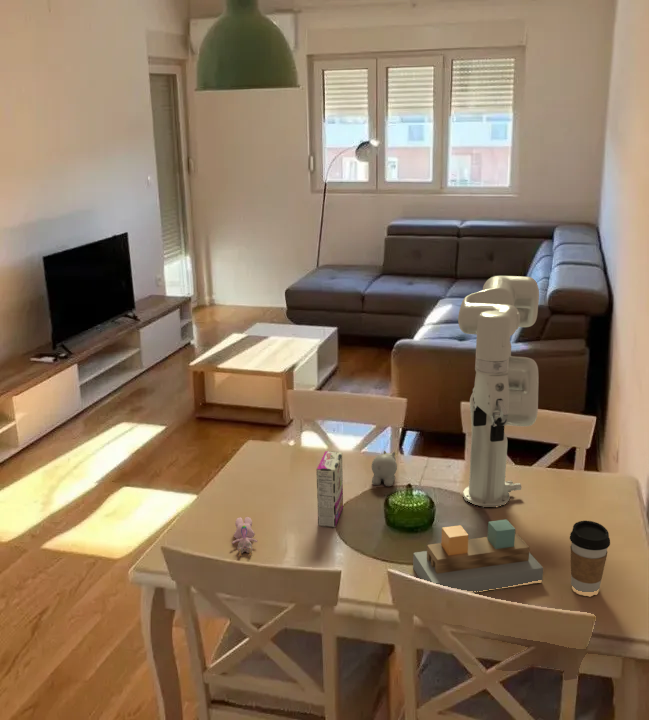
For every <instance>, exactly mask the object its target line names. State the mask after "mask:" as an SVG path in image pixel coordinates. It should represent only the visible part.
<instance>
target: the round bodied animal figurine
mask: <svg viewBox="0 0 649 720" xmlns="http://www.w3.org/2000/svg"><path fill="white" fill-rule="evenodd" d="M397 470H398V464H397V460H396V451H394V452H391V453H390V452H387V451H386V450H383V453H381V454H378V455H376V457H375V458H373V460H372V463H371V471H372V473H373V476H372V479H371V483H372V485H374V486H380V485H381V483H382V482H383V484H384V486H386V487H392V486H393V485H394V482H395V480H396V477H395V475H396V472H397Z"/></svg>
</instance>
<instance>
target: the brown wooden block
mask: <svg viewBox="0 0 649 720" xmlns="http://www.w3.org/2000/svg"><path fill="white" fill-rule="evenodd" d="M523 539H524V538H522V537H521V536H520V535H519V534H518V533H517V532H515V542H514V547H508V548H501V549H495V548H494V547H493V545H492V544H491V543H490V542H489V541H488V539H487V536H483V537H477V538H476V537H475V538H470V539H469V538H468V553H463V554H456V555H448V554H447V553H446V551H445V550H444V548H443V547H442V546H441V542H439V543H430V544H427V545H426V551H427V559H428V561H431V565H432V567H435V572H436V573H437V574H438V573H445V572H452V571H459V570H467V569H474V568H481V567H488V566H495V565H502V564H509V563H516V562H523V561H528V560H529V553H530V546H529V545H528V544H527V543H526V542H525V541H524V540H523Z"/></svg>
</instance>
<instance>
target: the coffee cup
mask: <svg viewBox="0 0 649 720" xmlns="http://www.w3.org/2000/svg"><path fill="white" fill-rule="evenodd" d="M569 535H570V536H569V540H570V542H571V544H570V586H571V585H572V586H573V587H574V588H575V589H576V590H578V591H582V592H594V591H597V590H598V589H599V588H600V589H601V584H602V578H603V574H604V570H605V566H606V562H607V556H608V548H609V547H610V545H611V538H610V535H609V531H608V529H607V528H606V527H605V526H603V525H602V524H601V523H599V522H596V521H591V520H580V521H577V522H575V523H574V524H573V526H572V531H571V532H570V534H569ZM600 589H599V590H600Z"/></svg>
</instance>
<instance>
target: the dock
mask: <svg viewBox="0 0 649 720" xmlns="http://www.w3.org/2000/svg"><path fill="white" fill-rule="evenodd" d="M412 555H413V557H412V560H413V561H412V568H413V570H414V572H415V574H416V575H417V577H418V578H419V579H420V578H421V579H424V580H427V581H430V582H433V583H436V584H440V585H443V586H448V587H451V588H457V589H461V590H467V591H473V592H474V591H476V592H477V591H478V592H479V591H483V590H489V589H496V588H502V587H508V586H513V585H518V584H523V583H528V582H532V581H538V580H542V581H543V575H544V567H543V566H542V564H541V563H540V562H539V561H538V560H537V559H536V558H535V557H534V556H533V555H532V554H531V552H529V560H528V561H523V562H516V563H509V564H502V565H495V566H488V567H481V568H474V569H467V570H459V571H452V572H445V573H438V574H437V573H436V572H435V567H432V565H431V561H428V559H427V550H423V551H416V552H413V554H412ZM474 594H476V593H475V592H474Z"/></svg>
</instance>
